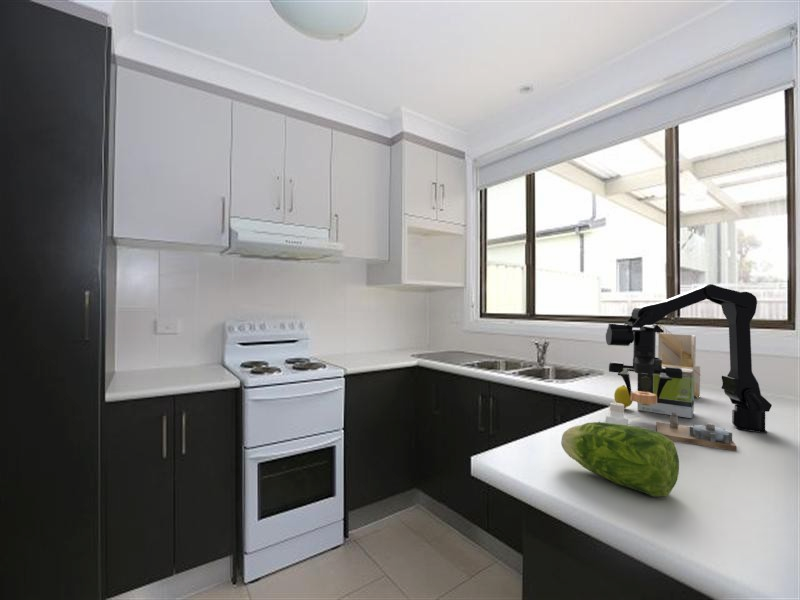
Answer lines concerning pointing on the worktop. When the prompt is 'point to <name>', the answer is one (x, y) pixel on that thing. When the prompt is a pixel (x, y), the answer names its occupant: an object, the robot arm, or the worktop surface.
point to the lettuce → (625, 455)
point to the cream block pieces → (679, 354)
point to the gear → (643, 397)
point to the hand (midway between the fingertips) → (643, 397)
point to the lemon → (622, 396)
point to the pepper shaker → (616, 414)
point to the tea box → (669, 394)
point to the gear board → (697, 434)
